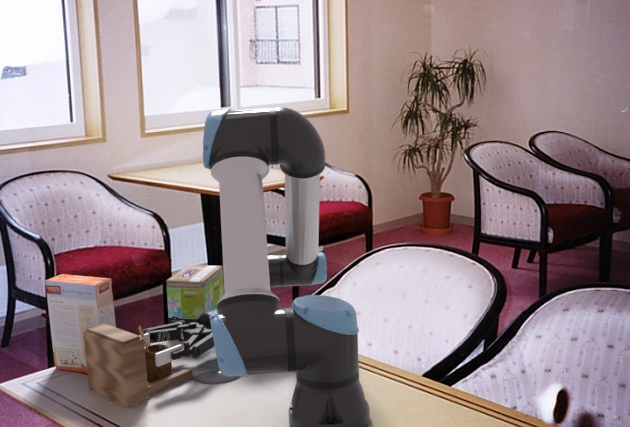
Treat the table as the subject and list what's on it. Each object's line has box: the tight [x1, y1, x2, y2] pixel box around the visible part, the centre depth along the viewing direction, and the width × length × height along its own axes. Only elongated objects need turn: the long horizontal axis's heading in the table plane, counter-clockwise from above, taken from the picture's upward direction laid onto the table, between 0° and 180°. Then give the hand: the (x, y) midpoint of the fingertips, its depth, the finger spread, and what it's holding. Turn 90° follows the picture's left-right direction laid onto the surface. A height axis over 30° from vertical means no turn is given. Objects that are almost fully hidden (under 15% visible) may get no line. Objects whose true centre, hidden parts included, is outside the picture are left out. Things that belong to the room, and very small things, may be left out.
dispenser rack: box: [83, 323, 194, 409], centre depth 171 cm, size 14×18×14 cm
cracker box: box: [45, 273, 117, 374], centre depth 180 cm, size 14×6×21 cm, turn 65°
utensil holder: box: [137, 325, 173, 384], centre depth 173 cm, size 6×6×12 cm
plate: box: [192, 360, 241, 384], centre depth 176 cm, size 11×11×1 cm
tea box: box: [166, 264, 225, 337], centre depth 204 cm, size 15×10×15 cm, turn 168°
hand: (139, 353), depth 170 cm, fingers open, 11 cm apart
